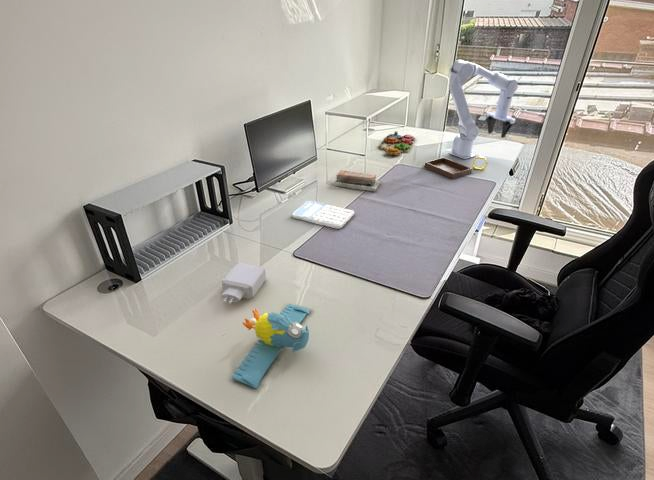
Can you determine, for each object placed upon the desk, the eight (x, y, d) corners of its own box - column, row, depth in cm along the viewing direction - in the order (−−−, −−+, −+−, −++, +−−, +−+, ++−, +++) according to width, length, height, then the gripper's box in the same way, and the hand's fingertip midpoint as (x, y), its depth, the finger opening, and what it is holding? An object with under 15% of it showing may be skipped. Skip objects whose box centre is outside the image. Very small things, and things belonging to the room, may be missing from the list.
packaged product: (334, 175, 175) (341, 167, 183) (333, 186, 178) (340, 177, 185) (376, 181, 170) (381, 172, 178) (375, 192, 173) (380, 183, 180)
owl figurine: (276, 276, 110) (329, 291, 105) (277, 301, 115) (328, 317, 110) (213, 347, 89) (276, 370, 84) (218, 374, 94) (277, 397, 89)
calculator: (339, 230, 147) (340, 225, 146) (291, 217, 155) (290, 213, 154) (355, 214, 157) (355, 210, 156) (308, 203, 164) (308, 199, 163)
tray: (424, 166, 196) (425, 162, 195) (442, 161, 201) (443, 157, 200) (452, 179, 184) (453, 174, 183) (471, 173, 190) (472, 168, 188)
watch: (471, 169, 193) (474, 157, 190) (471, 167, 195) (474, 154, 192) (485, 170, 192) (488, 158, 189) (484, 168, 194) (487, 156, 191)
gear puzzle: (405, 158, 204) (406, 150, 202) (373, 154, 209) (373, 146, 207) (416, 139, 228) (417, 132, 226) (386, 136, 233) (387, 129, 230)
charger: (212, 306, 113) (237, 275, 125) (243, 313, 111) (266, 281, 123) (209, 292, 110) (236, 262, 122) (241, 299, 108) (265, 267, 120)
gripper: (522, 108, 194) (514, 137, 202) (496, 101, 204) (489, 129, 212) (512, 110, 191) (504, 140, 199) (486, 103, 201) (480, 132, 209)
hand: (496, 135), depth 205 cm, fingers open, 7 cm apart
